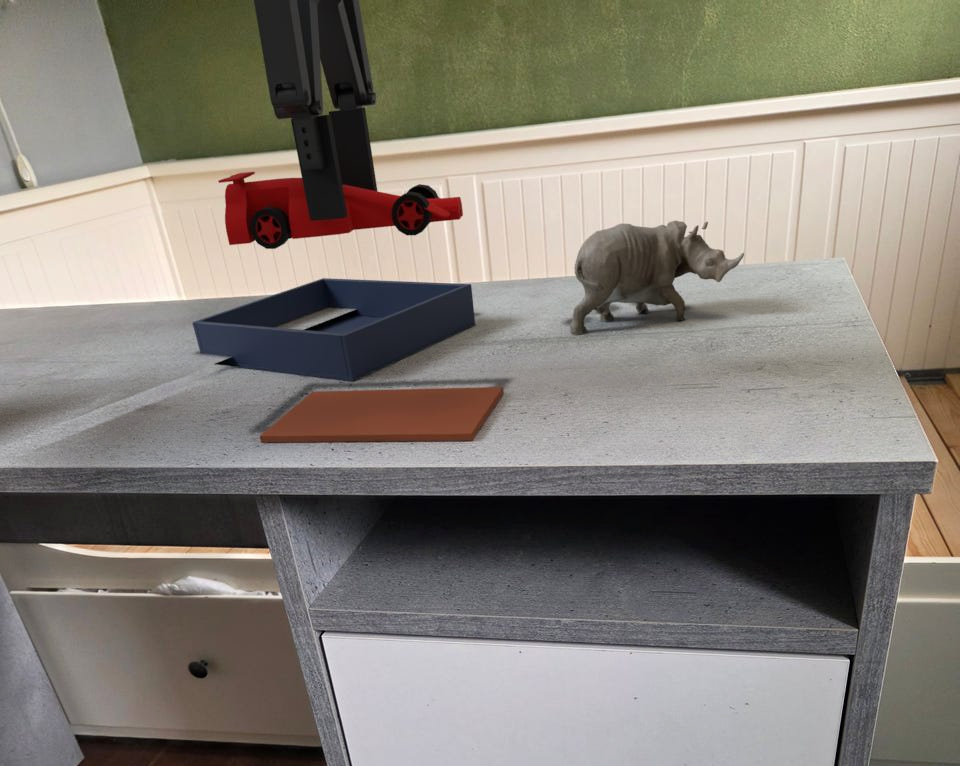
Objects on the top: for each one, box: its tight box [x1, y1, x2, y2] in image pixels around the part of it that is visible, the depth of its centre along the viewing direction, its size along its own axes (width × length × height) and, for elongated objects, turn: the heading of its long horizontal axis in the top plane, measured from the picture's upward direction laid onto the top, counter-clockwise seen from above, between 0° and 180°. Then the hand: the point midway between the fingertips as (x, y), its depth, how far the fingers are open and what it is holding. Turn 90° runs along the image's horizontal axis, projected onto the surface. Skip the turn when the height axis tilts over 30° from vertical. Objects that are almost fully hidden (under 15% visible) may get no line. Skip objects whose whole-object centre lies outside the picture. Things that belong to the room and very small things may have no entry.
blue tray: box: [191, 277, 476, 382], centre depth 95 cm, size 22×20×4 cm
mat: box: [259, 386, 505, 443], centre depth 74 cm, size 18×11×1 cm, turn 76°
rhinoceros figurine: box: [569, 220, 745, 335], centre depth 89 cm, size 8×14×15 cm
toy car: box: [218, 171, 464, 250], centre depth 67 cm, size 6×18×5 cm, turn 84°
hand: (345, 210), depth 68 cm, fingers closed on toy car, 6 cm apart
